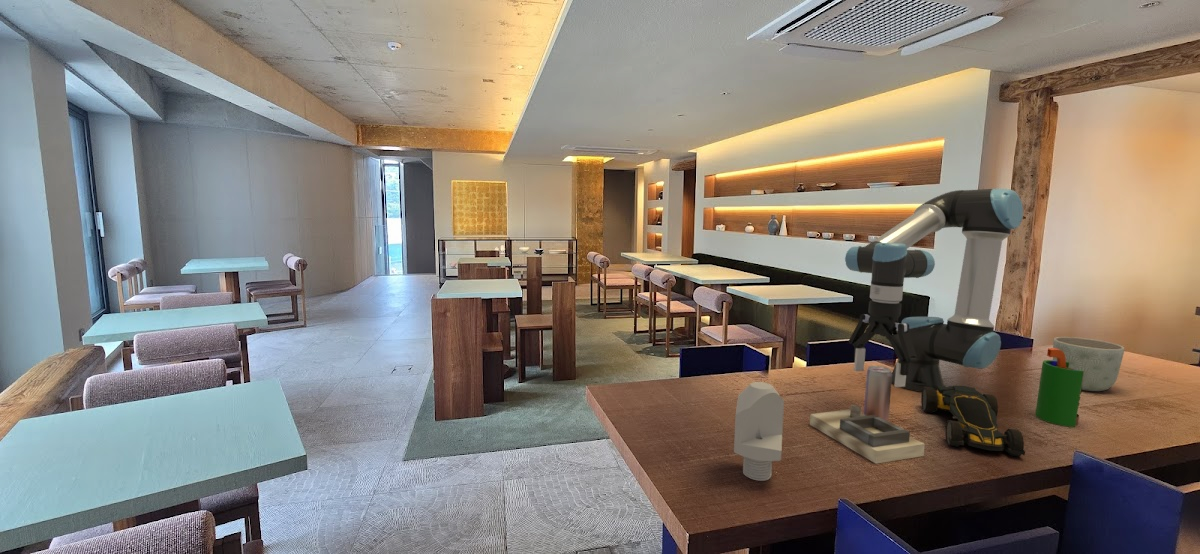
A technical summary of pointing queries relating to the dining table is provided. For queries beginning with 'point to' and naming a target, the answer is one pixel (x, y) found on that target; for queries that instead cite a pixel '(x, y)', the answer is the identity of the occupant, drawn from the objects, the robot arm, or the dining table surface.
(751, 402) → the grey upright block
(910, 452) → the board
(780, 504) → the dining table surface
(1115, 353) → the planter
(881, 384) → the beverage can
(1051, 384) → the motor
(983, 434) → the toy car
